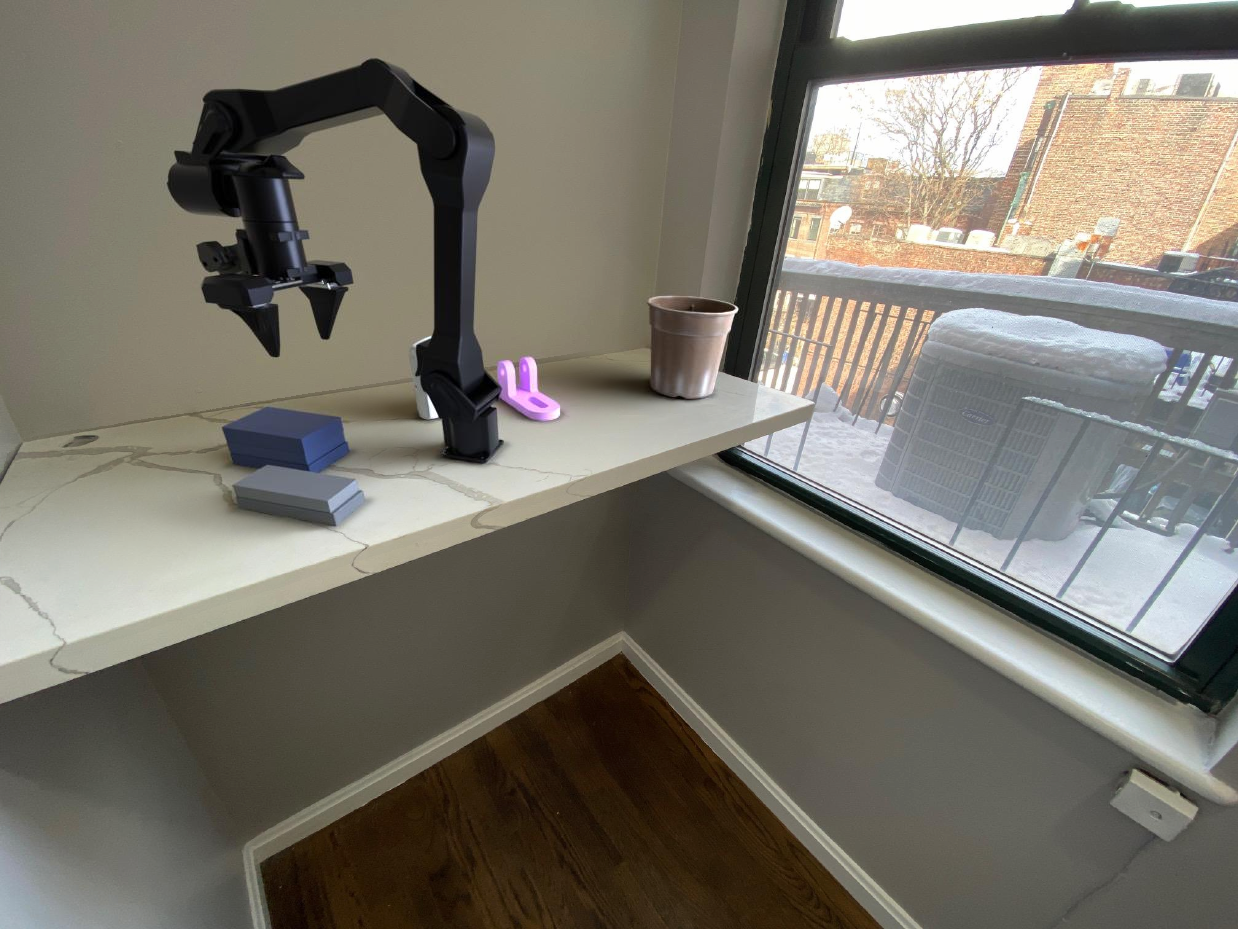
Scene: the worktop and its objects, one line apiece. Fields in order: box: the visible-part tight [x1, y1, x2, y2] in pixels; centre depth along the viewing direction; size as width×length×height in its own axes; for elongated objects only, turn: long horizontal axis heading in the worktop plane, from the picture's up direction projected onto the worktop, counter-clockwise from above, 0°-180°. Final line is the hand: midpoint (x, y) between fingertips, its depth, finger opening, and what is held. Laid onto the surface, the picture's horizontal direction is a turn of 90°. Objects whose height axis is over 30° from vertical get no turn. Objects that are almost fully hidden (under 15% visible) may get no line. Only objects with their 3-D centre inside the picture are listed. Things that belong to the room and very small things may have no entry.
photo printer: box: [408, 335, 439, 420], centre depth 80 cm, size 10×4×12 cm, turn 140°
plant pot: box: [646, 295, 739, 400], centre depth 95 cm, size 16×16×16 cm
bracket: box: [496, 356, 561, 422], centre depth 85 cm, size 13×6×7 cm, turn 38°
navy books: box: [225, 431, 351, 473], centre depth 66 cm, size 11×7×3 cm, turn 79°
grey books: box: [231, 465, 366, 526], centre depth 57 cm, size 12×5×3 cm, turn 79°
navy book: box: [221, 406, 345, 454], centre depth 64 cm, size 11×7×2 cm, turn 79°
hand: (301, 347), depth 69 cm, fingers open, 9 cm apart
